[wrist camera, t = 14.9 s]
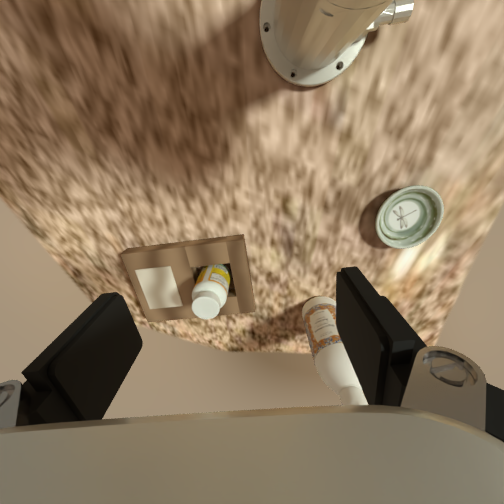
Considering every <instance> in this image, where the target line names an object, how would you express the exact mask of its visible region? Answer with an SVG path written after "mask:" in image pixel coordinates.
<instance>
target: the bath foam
mask: <svg viewBox="0 0 504 504" xmlns="http://www.w3.org/2000/svg"><path fill="white" fill-rule="evenodd" d="M302 317H303V321H304V325H305V329H306V333H307V337H308V341H309V345H310V348H311V352H312V356H313V360H314V364H315V367H316V369H317V372H318V374H319V376H320V377H321V379H322V380H323V382H324V383H325V384H326V385H327V386H328V387H329V388H330V389H331V390H332V391H334V392H335V393H336V394H337V395H339V397H340V400H341V403H342V405H368V404H367V401H366V399H365V397H364V394H363V392H362V388H361V385H360V383H359V381H358V378H357V376H356V374H355V371H354V369H353V366H352V364H351V362H350V359H349V357H348V355H347V352H346V350H345V348H344V345H343V343H342V340H341V338H340V336H339V333H338V331H337V327H336V302H335V301H334V300H333V299H331V298H329V297H325V296H318V297H314V298H312V299H310V300H309V301H307V302H306V303H305V305H304V306H303V309H302Z"/></svg>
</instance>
